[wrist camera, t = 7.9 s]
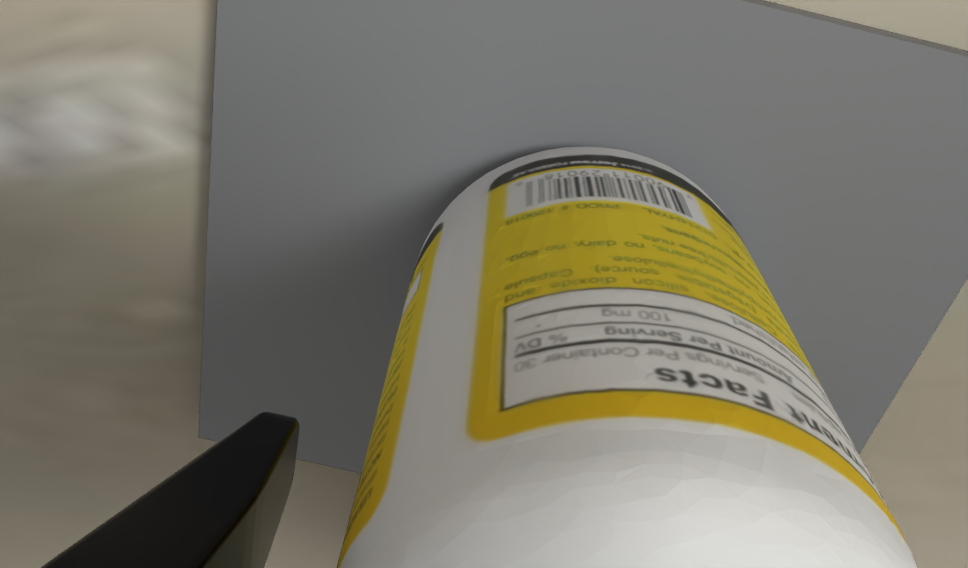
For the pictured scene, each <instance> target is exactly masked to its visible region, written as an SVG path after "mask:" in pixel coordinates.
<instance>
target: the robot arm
mask: <svg viewBox="0 0 968 568" xmlns="http://www.w3.org/2000/svg"><path fill="white" fill-rule="evenodd" d="M299 429H300V425H299V422H298V420H297V419H296V418H294V417H290V416H285V415H281V414H276V413H272V412H262V413H259V414H258V415H256V416H255V417H253V418H252V419H251V420H249V421H248V422H246V423H245V424H244V425H242V426H241V427H239V428H238V429H236V430H235V431H234V432H232V433H231V434H229V435H228V436H227V437H225V438H224V439H222V440H221V441H219V442H218V443H217V444H215V445H214V446H212V447H211V448H210V449H208V450H207V451H205V452H204V453H202V454H201V455H200V456H198V457H197V458H195V459H194V460H193V461H191V462H190V463H188V464H187V465H185V466H184V467H183V468H181V469H180V470H178V471H177V472H175V473H174V474H173V475H171V476H170V477H168V478H167V479H166V480H164V481H163V482H161V483H160V484H158V485H157V486H156V487H154V488H153V489H151V490H150V491H149V492H147V493H146V494H144V495H143V496H141V497H140V498H139V499H137V500H136V501H134V502H133V503H132V504H130V505H129V506H127V507H126V508H124V509H123V510H122V511H120V512H119V513H117V514H116V515H115V516H113V517H112V518H110V519H109V520H107V521H106V522H105V523H103V524H102V525H100V526H99V527H98V528H96V529H95V530H93V531H92V532H90V533H89V534H88V535H86V536H85V537H83V538H82V539H81V540H79V541H78V542H76V543H75V544H73V545H72V546H71V547H69V548H68V549H66V550H65V551H64V552H62V553H61V554H59V555H58V556H56V557H55V558H54V559H52V560H51V561H49V562H48V563H47V564H45V565H44V566H42V567H41V568H264V566H265V563H266V560H267V557H268V554H269V551H270V548H271V545H272V542H273V539H274V536H275V533H276V530H277V527H278V524H279V521H280V519H281V516H282V513H283V510H284V507H285V504H286V501H287V498H288V495H289V492H290V488H291V485H292V480H293V475H294V469H295V461H296V453H297V445H298V437H299Z"/></svg>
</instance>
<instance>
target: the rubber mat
mask: <svg viewBox="0 0 968 568" xmlns="http://www.w3.org/2000/svg"><path fill="white" fill-rule="evenodd" d="M582 146H589V147H605V148H613V149H620V150H625V151H629V152H632V153H636V154H639V155H642V156H645V157H648V158H651V159H653V160H656V161H658V162H660V163H663V164H665V165H667V166H669V167H671V168H673V169H674V170H676V171H678V172H679V173H681V174H683V175H684V176H686V177H687V178H688V179H690V180H691V181H692V182H694V183H695V184H696V185H698V186H699V187H700V188H701V189H702V190H703V191H704V192H705V193H706V194H707V195H708V196H709V197H710V198H711V199H712V200H713V201H714V202H715V203H716V204H717V205H718V206H719V208H720V209H721V210H722V211H723V213H724V214H725V215H726V217H727V218H728V219H729V221H730V222H731V223H732V225H733V226H734V228H735V229H736V231H737V232H738V234H739V235H740V237H741V239H742V240H743V242H744V244H745V246H746V248H747V250H748V252H749V253H750V255H751V257H752V259H753V261H754V263H755V265H756V266H757V268H758V270H759V272H760V274H761V275H762V277H763V279H764V281H765V283H766V285H767V286H768V288H769V290H770V292H771V294H772V296H773V298H774V299H775V301H776V303H777V305H778V307H779V309H780V311H781V312H782V314H783V316H784V318H785V320H786V322H787V323H788V325H789V327H790V329H791V331H792V333H793V335H794V336H795V338H796V340H797V342H798V344H799V346H800V348H801V349H802V351H803V353H804V355H805V357H806V359H807V360H808V362H809V364H810V366H811V368H812V370H813V371H814V373H815V375H816V377H817V379H818V381H819V382H820V384H821V386H822V388H823V390H824V392H825V393H826V395H827V397H828V399H829V401H830V403H831V404H832V406H833V408H834V410H835V412H836V413H837V415H838V417H839V419H840V421H841V422H842V424H843V426H844V428H845V430H846V432H847V433H848V435H849V437H850V439H851V441H852V443H853V445H854V446H855V448H856V450H857V452H858V454H859V453H860V452H861V450H862V449H863V447H864V445H865V444H866V442H867V440H868V439H869V437H870V436H871V434H872V432H873V431H874V429H875V427H876V426H877V424H878V423H879V421H880V419H881V418H882V416H883V414H884V413H885V411H886V410H887V408H888V406H889V405H890V403H891V401H892V400H893V398H894V397H895V395H896V393H897V392H898V390H899V388H900V387H901V385H902V384H903V382H904V380H905V379H906V377H907V376H908V374H909V372H910V371H911V369H912V367H913V366H914V364H915V363H916V361H917V359H918V358H919V356H920V354H921V353H922V351H923V350H924V348H925V346H926V345H927V343H928V341H929V340H930V338H931V337H932V335H933V333H934V332H935V330H936V328H937V327H938V325H939V324H940V322H941V320H942V319H943V317H944V315H945V314H946V312H947V311H948V309H949V307H950V306H951V304H952V302H953V301H954V299H955V298H956V296H957V294H958V293H959V291H960V289H961V288H962V286H963V285H964V283H965V281H966V280H967V278H968V51H965V50H961V49H957V48H953V47H949V46H945V45H941V44H937V43H933V42H929V41H925V40H921V39H917V38H913V37H909V36H905V35H901V34H897V33H893V32H889V31H885V30H881V29H877V28H873V27H869V26H865V25H861V24H857V23H853V22H849V21H845V20H841V19H836V18H832V17H828V16H824V15H820V14H816V13H812V12H808V11H804V10H800V9H796V8H792V7H788V6H784V5H780V4H776V3H772V2H768V1H764V0H217V21H216V44H215V67H214V90H213V113H212V136H211V159H210V182H209V205H208V228H207V251H206V274H205V296H204V319H203V342H202V365H201V388H200V411H199V434H198V437H199V438H204V439H208V440H213V441H217V442H219V441H221V440H222V439H224V438H225V437H227V436H228V435H229V434H231V433H232V432H234V431H235V430H236V429H238V428H239V427H241V426H242V425H244V424H245V423H246V422H248V421H249V420H251V419H252V418H253V417H255V416H256V415H258V414H259V413H262V412H272V413H276V414H281V415H285V416H290V417H294V418H296V419H297V420H298V422H299V425H300V429H299V437H298V445H297V453H296V459H299V460H303V461H308V462H313V463H317V464H322V465H326V466H331V467H335V468H340V469H344V470H349V471H353V472H358V473H362V470H363V465H364V461H365V458H366V454H367V450H368V446H369V442H370V438H371V435H372V431H373V427H374V423H375V419H376V415H377V410H378V406H379V403H380V399H381V395H382V391H383V387H384V383H385V379H386V375H387V371H388V367H389V363H390V359H391V355H392V351H393V347H394V344H395V340H396V336H397V332H398V328H399V325H400V321H401V317H402V312H403V308H404V304H405V301H406V297H407V293H408V289H409V285H410V282H411V278H412V275H413V272H414V269H415V266H416V263H417V260H418V257H419V254H420V252H421V249H422V247H423V244H424V242H425V240H426V238H427V236H428V235H429V233H430V231H431V229H432V228H433V226H434V224H435V222H436V221H437V220H438V219H439V217H440V216H441V215H442V213H443V212H444V211H445V209H446V208H447V207H448V206H449V205H450V203H451V202H452V201H453V200H454V199H455V198H456V197H457V196H458V195H460V194H461V193H462V192H463V191H464V190H465V189H466V188H467V187H469V186H470V185H471V184H472V183H474V182H475V181H476V180H478V179H479V178H481V177H482V176H484V175H485V174H487V173H488V172H490V171H492V170H494V169H496V168H498V167H500V166H502V165H504V164H506V163H508V162H511V161H513V160H515V159H517V158H520V157H524V156H527V155H530V154H533V153H537V152H541V151H544V150H550V149H556V148H563V147H582Z"/></svg>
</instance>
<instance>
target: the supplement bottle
mask: <svg viewBox="0 0 968 568" xmlns="http://www.w3.org/2000/svg"><path fill="white" fill-rule="evenodd" d="M337 568H917V566H916V563H915V561H914V558H913V556H912V553H911V551H910V549H909V547H908V545H907V543H906V541H905V539H904V537H903V535H902V533H901V531H900V529H899V527H898V525H897V524H896V522H895V520H894V518H893V516H892V514H891V513H890V511H889V509H888V506H887V504H886V502H885V501H884V499H883V497H882V496H881V494H880V492H879V491H878V489H877V487H876V486H875V484H874V482H873V480H872V478H871V476H870V474H869V472H868V470H867V469H866V467H865V465H864V463H863V461H862V459H861V458H860V456H859V454H858V452H857V450H856V448H855V446H854V445H853V443H852V441H851V439H850V437H849V435H848V433H847V432H846V430H845V428H844V426H843V424H842V422H841V421H840V419H839V417H838V415H837V413H836V412H835V410H834V408H833V406H832V404H831V403H830V401H829V399H828V397H827V395H826V393H825V392H824V390H823V388H822V386H821V384H820V382H819V381H818V379H817V377H816V375H815V373H814V371H813V370H812V368H811V366H810V364H809V362H808V360H807V359H806V357H805V355H804V353H803V351H802V349H801V348H800V346H799V344H798V342H797V340H796V338H795V336H794V335H793V333H792V331H791V329H790V327H789V325H788V323H787V322H786V320H785V318H784V316H783V314H782V312H781V311H780V309H779V307H778V305H777V303H776V301H775V299H774V298H773V296H772V294H771V292H770V290H769V288H768V286H767V285H766V283H765V281H764V279H763V277H762V275H761V274H760V272H759V270H758V268H757V266H756V265H755V263H754V261H753V259H752V257H751V255H750V253H749V252H748V250H747V248H746V246H745V244H744V242H743V240H742V239H741V237H740V235H739V234H738V232H737V231H736V229H735V228H734V226H733V225H732V223H731V222H730V221H729V219H728V218H727V217H726V215H725V214H724V213H723V211H722V210H721V209H720V208H719V206H718V205H717V204H716V203H715V202H714V201H713V200H712V199H711V198H710V197H709V196H708V195H707V194H706V193H705V192H704V191H703V190H702V189H701V188H700V187H699V186H698V185H696V184H695V183H694V182H692V181H691V180H690V179H688V178H687V177H686V176H684V175H683V174H681V173H679V172H678V171H676V170H674V169H673V168H671V167H669V166H667V165H665V164H663V163H660V162H658V161H656V160H653V159H651V158H648V157H645V156H642V155H639V154H636V153H632V152H629V151H625V150H620V149H613V148H605V147H589V146H582V147H563V148H556V149H550V150H544V151H541V152H537V153H533V154H530V155H527V156H524V157H520V158H517V159H515V160H513V161H511V162H508V163H506V164H504V165H502V166H500V167H498V168H496V169H494V170H492V171H490V172H488V173H487V174H485V175H484V176H482V177H481V178H479V179H478V180H476V181H475V182H474V183H472V184H471V185H470V186H469V187H467V188H466V189H465V190H464V191H463V192H462V193H461V194H460V195H458V196H457V197H456V198H455V199H454V200H453V201H452V202H451V203H450V205H449V206H448V207H447V208H446V209H445V211H444V212H443V213H442V215H441V216H440V217H439V219H438V220H437V221H436V222H435V224H434V226H433V228H432V229H431V231H430V233H429V235H428V236H427V238H426V240H425V242H424V244H423V247H422V249H421V252H420V254H419V257H418V260H417V263H416V266H415V269H414V272H413V275H412V278H411V282H410V285H409V289H408V293H407V297H406V301H405V304H404V308H403V312H402V317H401V321H400V325H399V328H398V332H397V336H396V340H395V344H394V347H393V351H392V355H391V359H390V363H389V367H388V371H387V375H386V379H385V383H384V387H383V391H382V395H381V399H380V403H379V406H378V410H377V415H376V419H375V423H374V427H373V431H372V435H371V438H370V442H369V446H368V450H367V454H366V458H365V461H364V465H363V470H362V474H361V477H360V481H359V485H358V489H357V493H356V497H355V501H354V504H353V508H352V511H351V514H350V518H349V523H348V527H347V531H346V535H345V538H344V542H343V546H342V549H341V553H340V557H339V561H338V565H337Z"/></svg>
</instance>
